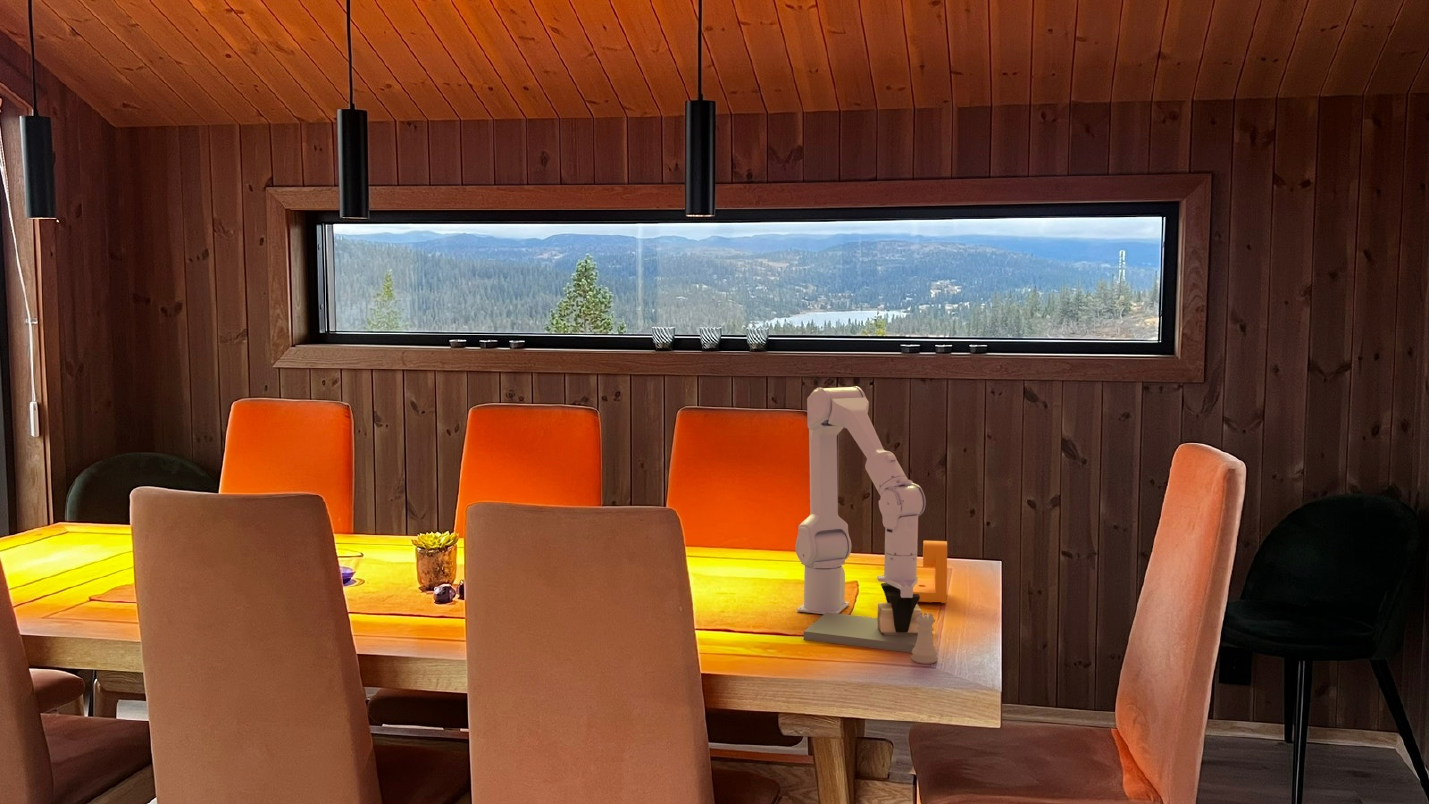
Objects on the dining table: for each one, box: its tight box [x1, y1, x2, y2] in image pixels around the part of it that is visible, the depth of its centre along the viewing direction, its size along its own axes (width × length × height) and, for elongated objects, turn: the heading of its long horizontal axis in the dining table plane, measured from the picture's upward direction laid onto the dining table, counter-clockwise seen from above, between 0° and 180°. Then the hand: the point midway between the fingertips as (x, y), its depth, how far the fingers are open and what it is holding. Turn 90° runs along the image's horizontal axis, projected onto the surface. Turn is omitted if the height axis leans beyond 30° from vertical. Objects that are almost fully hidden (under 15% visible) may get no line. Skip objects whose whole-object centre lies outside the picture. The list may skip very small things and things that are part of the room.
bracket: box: [913, 540, 948, 604], centre depth 246 cm, size 11×7×12 cm, turn 171°
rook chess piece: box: [910, 611, 939, 665], centre depth 205 cm, size 4×4×8 cm
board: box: [803, 612, 918, 654], centre depth 220 cm, size 14×20×2 cm
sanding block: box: [876, 602, 923, 635], centre depth 217 cm, size 5×7×4 cm
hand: (899, 627), depth 218 cm, fingers closed on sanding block, 5 cm apart
